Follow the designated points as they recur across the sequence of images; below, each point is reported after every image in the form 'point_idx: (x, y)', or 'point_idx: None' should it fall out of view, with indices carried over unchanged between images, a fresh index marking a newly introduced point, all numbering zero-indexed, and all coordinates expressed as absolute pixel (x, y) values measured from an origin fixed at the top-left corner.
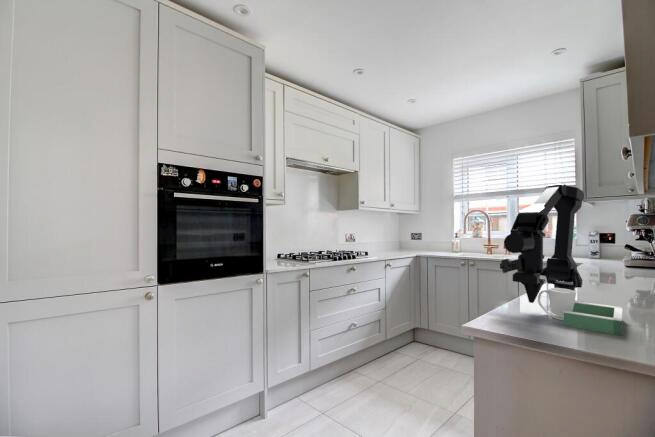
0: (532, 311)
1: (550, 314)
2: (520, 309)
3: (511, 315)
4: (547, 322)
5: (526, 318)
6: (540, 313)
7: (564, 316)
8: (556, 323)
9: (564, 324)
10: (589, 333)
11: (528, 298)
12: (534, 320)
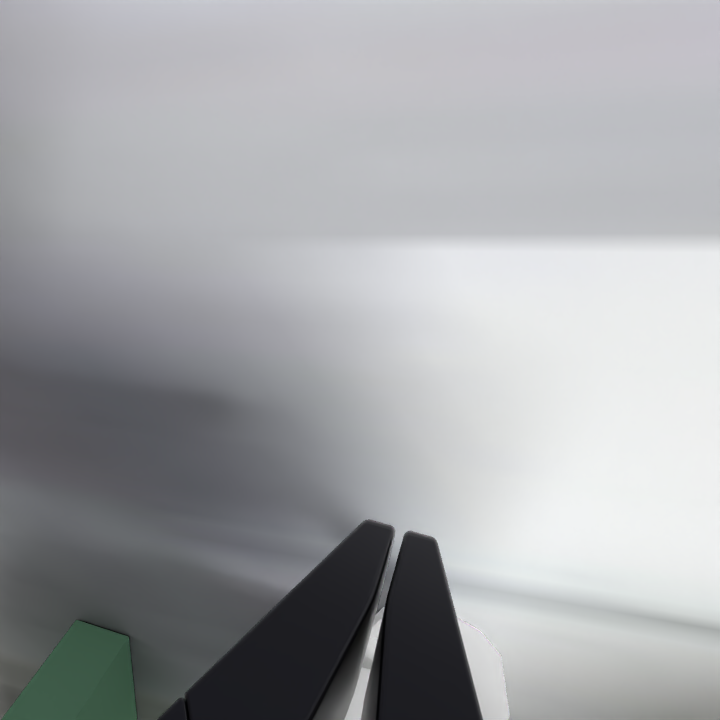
0: (544, 438)
1: (378, 617)
2: (610, 257)
3: (39, 114)
4: (64, 516)
5: (48, 326)
6: (466, 521)
7: (12, 709)
8: (96, 581)
9: (69, 631)
10: (3, 704)
11: (310, 573)
12: (34, 407)
